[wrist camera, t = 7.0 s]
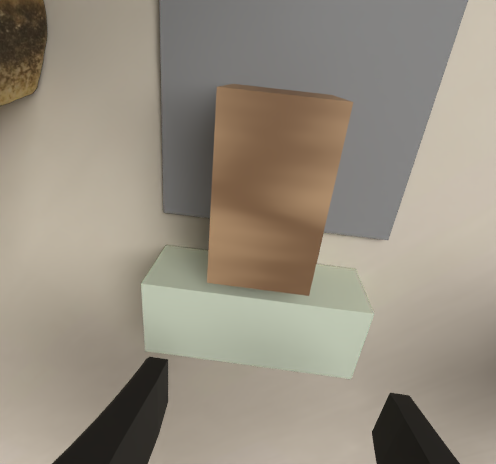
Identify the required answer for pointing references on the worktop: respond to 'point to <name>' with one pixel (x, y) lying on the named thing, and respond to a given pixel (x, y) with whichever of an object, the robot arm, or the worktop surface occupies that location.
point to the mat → (307, 88)
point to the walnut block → (272, 185)
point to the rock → (21, 47)
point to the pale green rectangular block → (254, 318)
